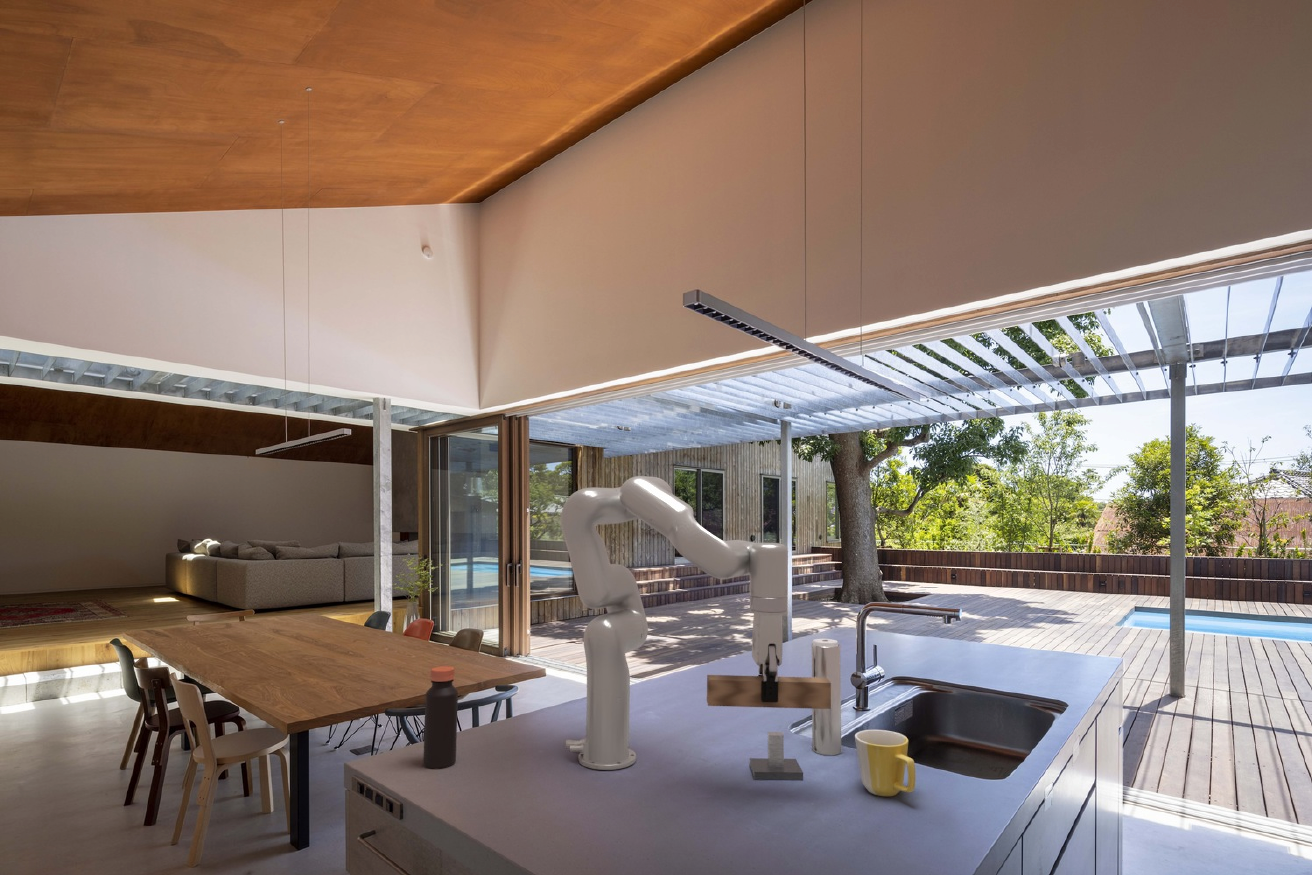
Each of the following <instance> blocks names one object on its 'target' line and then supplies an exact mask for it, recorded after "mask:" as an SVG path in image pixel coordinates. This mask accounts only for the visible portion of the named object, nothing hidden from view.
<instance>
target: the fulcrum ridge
mask: <svg viewBox="0 0 1312 875" xmlns="http://www.w3.org/2000/svg"><path fill="white" fill-rule="evenodd" d="M784 741H785V738H784V734H783V732H782V731H767V758H752V757H751V758H749V768H750V771H751V773H752V777H753V779H754V780H755V781H756V780H758V781H759V780H760V781H762V780H763V781H764V780H766V781H768V780H769V781H772V780H773V781H777V780H779V781H780V780H781V781H785V780H786V781H791V780H792V781H803V780H804V771H803V770H802V768H801V765H800V764H799V762H798V761H797V758H784V755H785V751H784V750H785V748H784V746H785V744H784V743H785V742H784Z"/></svg>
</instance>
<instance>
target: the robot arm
mask: <svg viewBox="0 0 1312 875" xmlns="http://www.w3.org/2000/svg"><path fill="white" fill-rule="evenodd" d="M694 512H695V511H694V509H693V507H692V506H691V505H690V504H689V503H687V502H685V501H683V500H682V499H680V498H679V497H677V495H675V494H673V490H672V488H671V486H670V485H669V484H668V482H667V481H665V480H664V479H662V478H660V477H656V476H645V475H635V476H632V477H630V478H628V479H627V480H625V481H624V483H623V484H622V486H619V487H598V486H597V487H584V488H581V489H578V490H577V491H575V492H573V493H572V494H571V495H570V496H569V497H568V498H567V499H566V501H565V502H564V504H563V506H562V508H561V512H560V513H561V514H560V529H561V533H562V536H563V539H564V542H565V545H566V549H567V553H568V555H569V556H568V557H569V559H570V560H569V561H570V565H571V570H572V572H573V577H574V581H575V584H576V589H577V593H578V596H579V599H580V601H581V603H582V604H583V605H584V606H585V607H586V608H588V609H591V610H599V609H605V608H606V612H607V613H604V614H601V615H598V616H597V617H595V618H593V619H592V620H591V621H590V622H589V623H588V624H587V626H586V627H585V630H584V632H583V648H584V654H585V663H586V725H585V729H586V730H585V731H586V732H585V736H584V738H580V740H575V739H565V749H566V750H569V752H570V753H577V752H578V753H579V754H578V763H579V764H580V765H582V766H583V767H586V768H589V769H593V770H599V771H611V770H612V771H614V770H620V769H625V768H628V767H630V766H632V765H633V764H635V762H636V760H637V753H636V752H635V751H634V750H632V749H631V748H630V717H631V716H630V714H631V713H630V710H631V709H630V707H631V706H630V705H631V704H630V702H631V700H630V698H631V686H630V685H631V683H630V682H631V679H630V678H631V676H630V669H629V665H628V661H627V658H626V654H627V653H630V652H632V651H636V650H638V649H639V648H641V647H642V646H643V645H644V643H645V642H646V640H647V638H648V635H649V634H648V633H649V626H648V620H647V615H646V612H645V611H646V610H645V609H644V604H643V601H642V597H641V593H640V590H639V586H638V584H637V583H638V582H637V580H636V578H635V576H634V574H633V573H632V572H631V570H630V569H629V568H628V567H626V566H624V565H623V564H619V563H611V561H610V558H609V556H608V551H607V547H606V544H605V542H604V539H603V538H602V536H601V535H600V533H599V532H598V530H597V526H598V525H615V524H621V523H627V522H631V521H635V520H640V521H642V522H644V523H645V524H646V525H648V526H649V527H651V528H652V529H654V530H655V531H657V532H658V533H660V534H661V535H662V536H664V537H665V538H667V539H668V540H669V541H670V543H671V545H672V546H673V547H674V548H675V549H676V551H677V552H678V553H679V554H680V556H682V557H683V558H684V559H685V560H687V561H688V562H689V563H690V564H692V565H693V566H695V567H696V568H698V569H699V570H700V571H702V572H704V573H705V574H706V575H708V576H711V577H713V578H714V579H715V578H716V579H718V580H729V579H732V578H737V577H739V578H740V577H744V576H749V613H751V614H753V619H752V620H753V621H752V638H751V639H752V640H751V657H752V659H753V661H754V662H755V664H756V665H757V666H758V675H757V676H763V681H761V700H762V702H775V703H776V702H778V677H779V675H778V673H779V672H778V670H779V669H778V667H780V666H781V665H782V664H783V663H782V662H783V643H784V642H783V638H784V637H783V616H784V615H788V613H789V612H788V608H789V607H788V605H789V604H788V593H789V592H788V589H789V588H788V583H789V582H788V580H789V579H788V578H789V577H788V576H789V575H788V571H789V570H788V569H789V568H788V565H789V556H788V552H789V551H788V548H787V546H786V545H785V544H782V543H780V542H752V541H750V540H749V541H748V540H743V539H734V540H733V539H731V540H722V539H721V538H719V537H718V536H716V535H714V534H713V533H711V532H709V531H708V529H705V527H703V526H702V525H700V524H699V522H697V520H696V519H695V516H694Z"/></svg>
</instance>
